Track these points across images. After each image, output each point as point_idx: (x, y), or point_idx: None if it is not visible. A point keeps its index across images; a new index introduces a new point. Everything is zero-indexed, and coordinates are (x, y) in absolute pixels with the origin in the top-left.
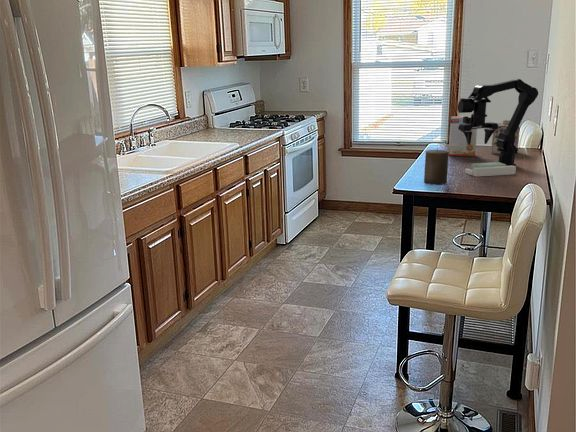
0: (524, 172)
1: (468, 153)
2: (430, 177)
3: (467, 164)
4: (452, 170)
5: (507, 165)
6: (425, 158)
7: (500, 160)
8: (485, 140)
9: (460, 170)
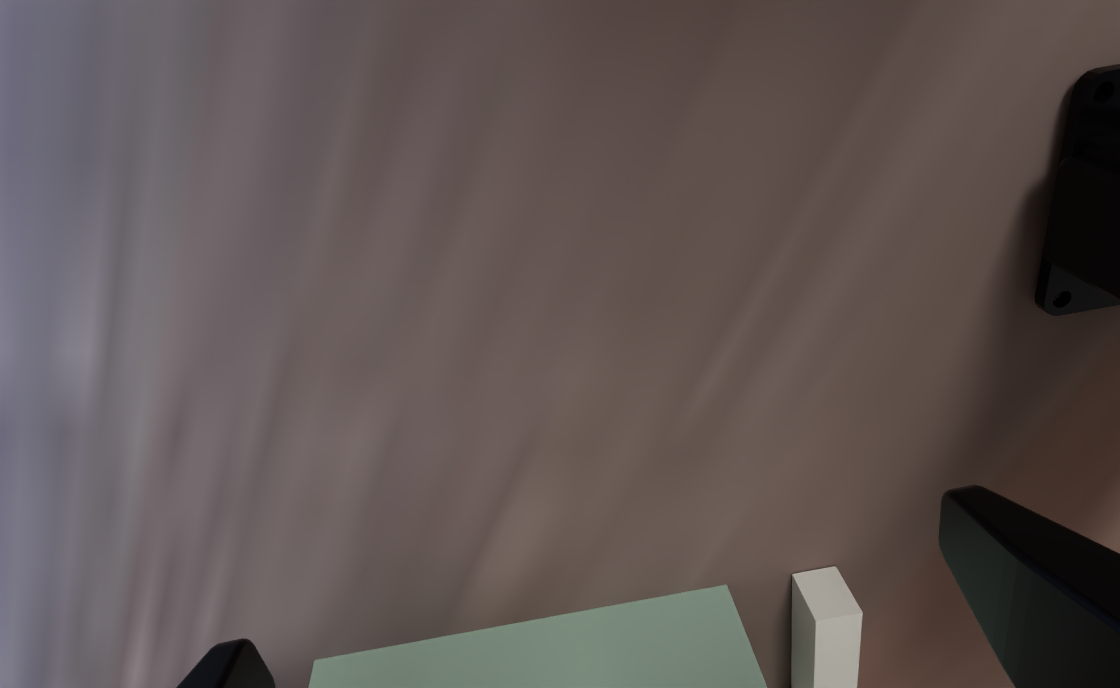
0: (981, 660)
1: None
2: None
3: (439, 61)
4: (39, 557)
5: (1092, 304)
6: None
7: (1092, 244)
8: (1022, 624)
9: (177, 559)
